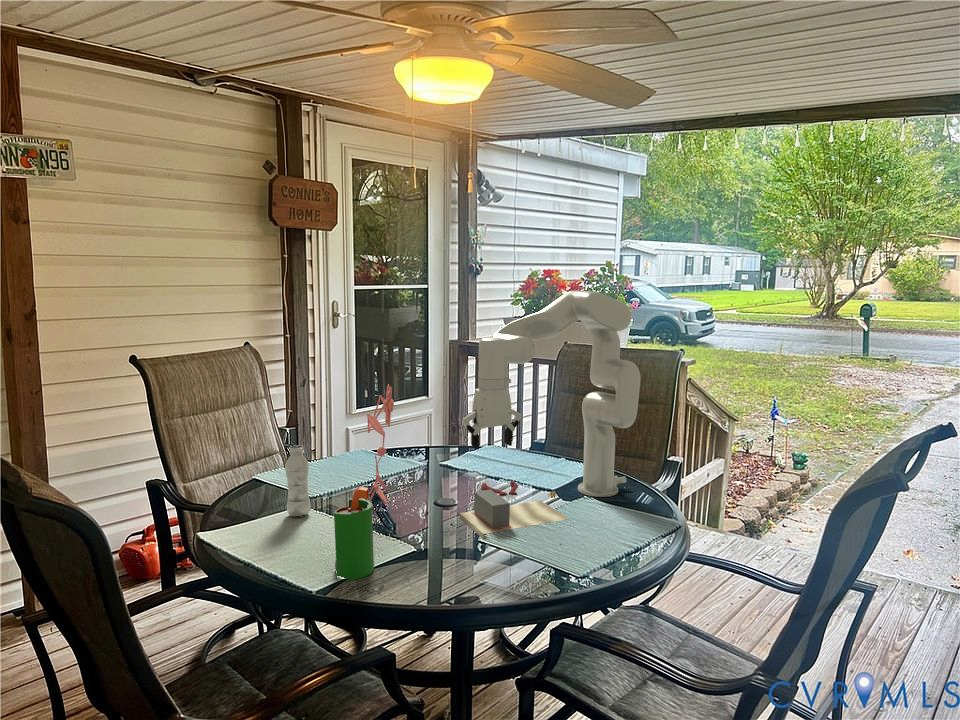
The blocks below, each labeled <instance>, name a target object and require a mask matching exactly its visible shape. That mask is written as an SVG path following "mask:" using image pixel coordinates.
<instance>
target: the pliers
mask: <svg viewBox="0 0 960 720" xmlns="http://www.w3.org/2000/svg"><path fill="white" fill-rule="evenodd" d="M480 487H481V491H483V490H490V489H491V490H492V491H493V492H495V493H496V494H498V495H499V496H500V497H503V496H504V497H505V498H506V499H505V500H507V501H511V499H510V498H512V499H513V500H514V501H516V500H517V498H516V497H515V495H516V496H517V495H518V493H517V492H516V490H517V489H518V488H519V484H517V482H515V481H514V480H511V481H510V487H511V489H510V490H509V491H508V493H507V492H506V491H502V490H498V489H496V488H493V487H492V486H491V487H490V486H488V484H487V483H486V482H482V483H481V486H480ZM513 495H514V496H513Z"/></svg>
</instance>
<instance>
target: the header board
mask: <svg viewBox="0 0 960 720" xmlns="http://www.w3.org/2000/svg"><path fill="white" fill-rule="evenodd" d="M459 519H460V520H461V521H462V522H463V523H465V524H466V526H468V527H469V528H470V529H471V530H472V531H473V532H474V533H476V534H477V535H478V536H479V537H480V538H481V539H482V540H488V539H489V537H488V536H486V535H487V534H491V533H492V534H493V533H497V532H498V533H499V532H504V531H509V530H516V529H520V528H527V527H532V526H537V525H543V524H544V525H545V524H549V523H556V522H561V521H567V520H569V517H567V516H565V515H564V514H563V513H561V512H559V511H557V510H556V509H555V508H553V507H552V506H550V505H548V504H547V503H545V502H543V501H542V500H535V501H529V502H522V503H516V504H510V523H509V526H506V527H500V528H494V529H492V528H491V527H490V526H489V525H488V524H486V523H485V522H484V521H483V520H482V519H480V518H479V517H478V516H477V515H476V514H474V510H471V511H465V512H459ZM485 534H486V535H485Z"/></svg>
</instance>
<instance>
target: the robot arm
mask: <svg viewBox="0 0 960 720" xmlns="http://www.w3.org/2000/svg"><path fill="white" fill-rule="evenodd" d="M631 320H632V312H631V309H630V308H629V306H628V305H627V304H626V303H625V302H622V301H621V300H618V299H616V298H613V297H611V296H609V295H606V294H605V293H601V292H599V291H594V290H577V289H576V290H570V291H567V292H565V293H564V294H562V295H561V296H560V297H558V298H557V299H555V300H554V301H552V302H551V303H550V304H549V305H547V306H545V307H544V308H542V309H541V310H539V311H538V312H535V313H532V314H529V315H526V316H524V317H522V318H519V319H516V320H513V321H511V322H510V323H507V324H505V325H504V326H503V327H501V328H499V329H498V330H497V331H496V332H494V333H493V334H492V335H491V336H490V337H484V338H481V339H480V340H479V342H478V388H475V390H474V395H473V402H472V408H471V409H472V412H471V413H469V414H467V415H465V416H464V417H462V418H461V422H462V423H463V426H464V428H465V429H466V430H467V431H468V432H469V433H470V445H471V447H472V448H473V449H475V450H476V451H478V450H480V434H479V433H480V432H481V430H482V429H485V428H493V427H501V426H502V427H503V426H505V429H504V444H505V445H507V446H509V447H511V446H513V441H514V431H515V430H516V428H517V426H518V425H519V424H520V421H521V419H522V416H523V415H522V413H521V412H519V411H517V410H514V409H513V408H512V399H511V393H510V390H509V388H508V385H509V384H511V383H512V380H511V378H508V368H507V367H508V365H509V364H512V365H513V364H514V365H523V364H526V363H530V361H531V360H532V359H533V358H534V357H535V354H536V345H535V344H534V342H535V341H543V340H549V339H552V338H556V337H558V336H559V335H560V334H561V333H563V332H564V331H566V330H567V329H568V328H570V327H571V326H572V325H574V324H575V323H576V322H578V321H580V323H582V325H583V326H584V327H585V329H586V330H587V331H588V333H589V335H590V338H591V342H592V345H591V346H592V347H591V359H590V360H591V361H590V368H589V369H590V370H589V371H590V372H589V379H590V382H591V384H592V385H593V386H595V387H597V388H601V389H606V390H611V391H615V394H613V393H609V392H603V391H592V392H589V393H588V394H586V395H585V396H584V398H583V400H582V403H581V412H582V418H583V426H584V432H583V433H584V434H583V435H584V437H583V439H584V441H583V468H582V469H583V470H582V471H583V472H582V476H583V477H582V482H580V483H579V484H578V485H577V490H578V492H579V493H581V494H582V495H585V496H589V497H595V498H603V497H604V498H607V497H612V496H615V495H617V494H618V493H619V488H618V486H617V485H619V484H625V483H627V477H626V476H618V475H615V455H616V453H615V452H616V434H615V431H614V428H618V429H627V428H630V427H631V426H633V425H634V423H635V421H636V418H637V414H638V408H639V399H640V398H639V397H640V389H641V373H640V369H639V367H638V366H637V364H635V363H634V362H633V361H630V360H625V359H621V358H620V357H621V340H620V335H619V333H618V332H622V331H624V330H626V329H627V328H628V326H629V325H630V323H631ZM533 341H534V342H533ZM512 415H513V416H514V418H512V417H513V416H512ZM470 421H471V422H472V424H473V425H472V426H471V424H470ZM613 427H614V428H613Z"/></svg>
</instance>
